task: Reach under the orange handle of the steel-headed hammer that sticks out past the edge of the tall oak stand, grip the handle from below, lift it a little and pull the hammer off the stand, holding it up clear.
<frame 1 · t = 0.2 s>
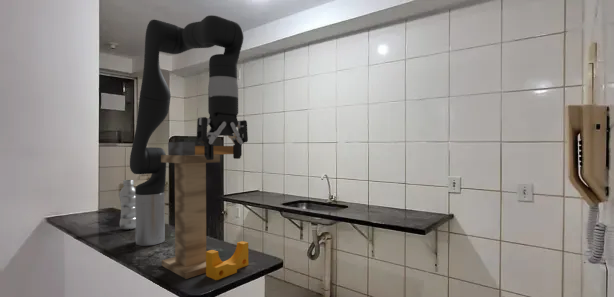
hand: (223, 159, 84), 30 cm above the countertop, tool pointing down, fingers open, 8 cm apart
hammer: (198, 154, 92), point 31 cm above the countertop, touching stand
plastic bottle: (128, 229, 133), on the countertop
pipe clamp: (230, 272, 87), on the countertop
stand: (190, 266, 90), on the countertop
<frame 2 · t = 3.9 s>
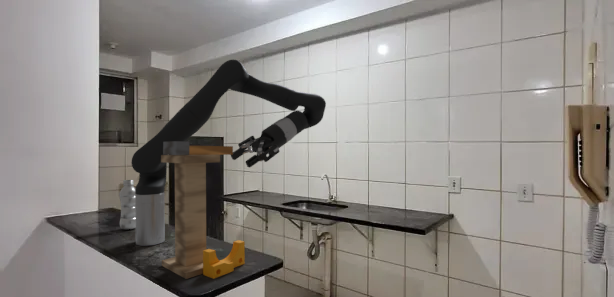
hand: (239, 161, 97), 29 cm above the countertop, tool tilted 60°, fingers open, 8 cm apart
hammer: (193, 154, 91), point 31 cm above the countertop, touching gripper
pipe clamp: (226, 271, 88), on the countertop
everything else where it was.
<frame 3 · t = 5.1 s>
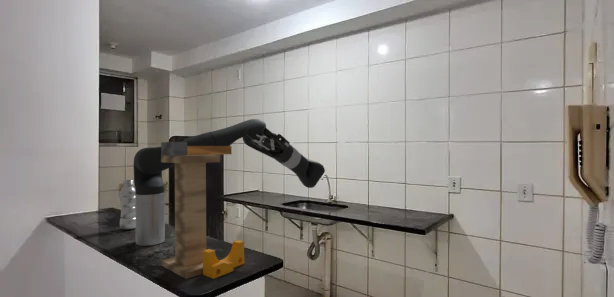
hand: (254, 130, 107), 39 cm above the countertop, tool pointing upward, fingers open, 8 cm apart
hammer: (191, 154, 91), point 31 cm above the countertop, touching stand
everything else where it was.
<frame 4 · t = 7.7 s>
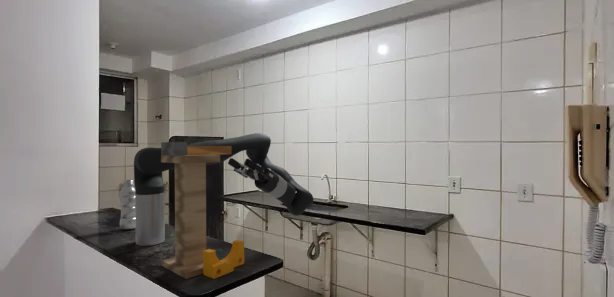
hand: (237, 160, 102), 29 cm above the countertop, tool pointing upward, fingers open, 8 cm apart
nothing on the countertop moved.
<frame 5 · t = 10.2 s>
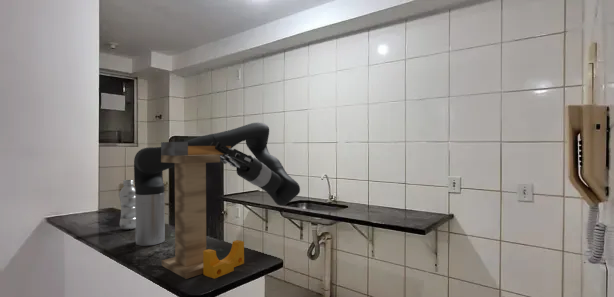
hand: (214, 145, 96), 34 cm above the countertop, tool pointing upward, fingers closed on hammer, 2 cm apart
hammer: (191, 154, 91), point 31 cm above the countertop, touching gripper, stand
everything else where it was.
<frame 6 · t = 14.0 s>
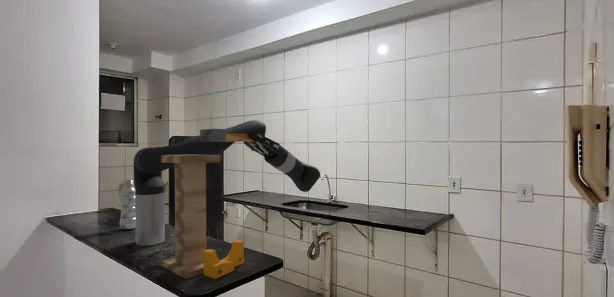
hand: (245, 133, 104), 38 cm above the countertop, tool pointing upward, fingers closed on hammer, 2 cm apart
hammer: (227, 141, 99), point 35 cm above the countertop, touching gripper
everything else where it was.
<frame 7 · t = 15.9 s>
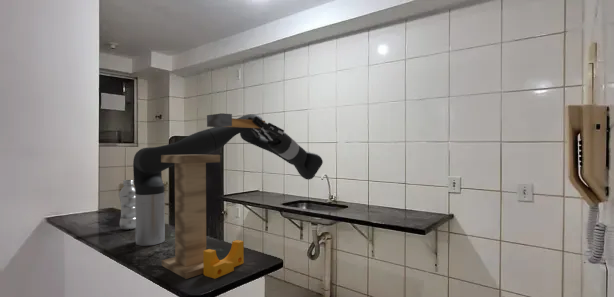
hand: (251, 119, 107), 42 cm above the countertop, tool pointing upward, fingers closed on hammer, 2 cm apart
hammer: (233, 126, 102), point 39 cm above the countertop, touching gripper
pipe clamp: (226, 270, 88), on the countertop, touching stand
everything else where it was.
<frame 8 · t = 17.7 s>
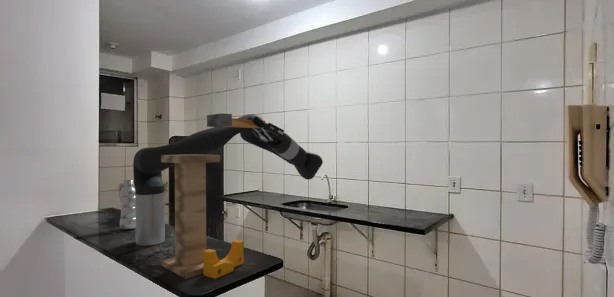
hand: (251, 119, 107), 42 cm above the countertop, tool pointing upward, fingers closed on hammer, 2 cm apart
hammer: (233, 126, 102), point 39 cm above the countertop, touching gripper
everything else where it was.
at the end: the gripper is holding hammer; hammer touching gripper; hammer moved 15.1 cm from its start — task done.
